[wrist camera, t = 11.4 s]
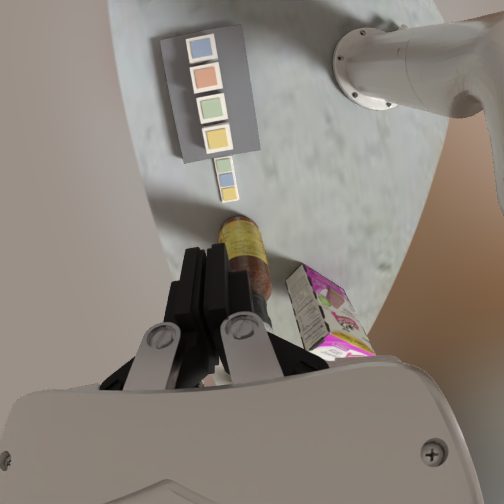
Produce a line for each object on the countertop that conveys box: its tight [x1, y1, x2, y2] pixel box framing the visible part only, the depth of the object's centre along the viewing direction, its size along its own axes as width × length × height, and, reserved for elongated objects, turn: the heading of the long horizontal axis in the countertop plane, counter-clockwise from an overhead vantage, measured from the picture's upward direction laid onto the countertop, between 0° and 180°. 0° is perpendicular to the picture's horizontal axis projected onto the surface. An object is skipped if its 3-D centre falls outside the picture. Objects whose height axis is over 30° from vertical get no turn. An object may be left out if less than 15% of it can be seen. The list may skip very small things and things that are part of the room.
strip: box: [214, 155, 239, 203], centre depth 40 cm, size 7×2×1 cm, turn 8°
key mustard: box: [202, 122, 233, 154], centre depth 34 cm, size 3×3×4 cm
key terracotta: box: [190, 62, 223, 94], centre depth 29 cm, size 3×3×4 cm
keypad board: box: [160, 25, 261, 164], centre depth 32 cm, size 17×10×2 cm, turn 8°
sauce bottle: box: [219, 216, 272, 333], centre depth 36 cm, size 7×6×20 cm
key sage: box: [196, 93, 228, 124], centre depth 32 cm, size 3×3×4 cm
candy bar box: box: [285, 263, 375, 361], centre depth 44 cm, size 11×5×16 cm, turn 53°
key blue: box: [186, 34, 218, 65], centre depth 28 cm, size 3×3×4 cm
